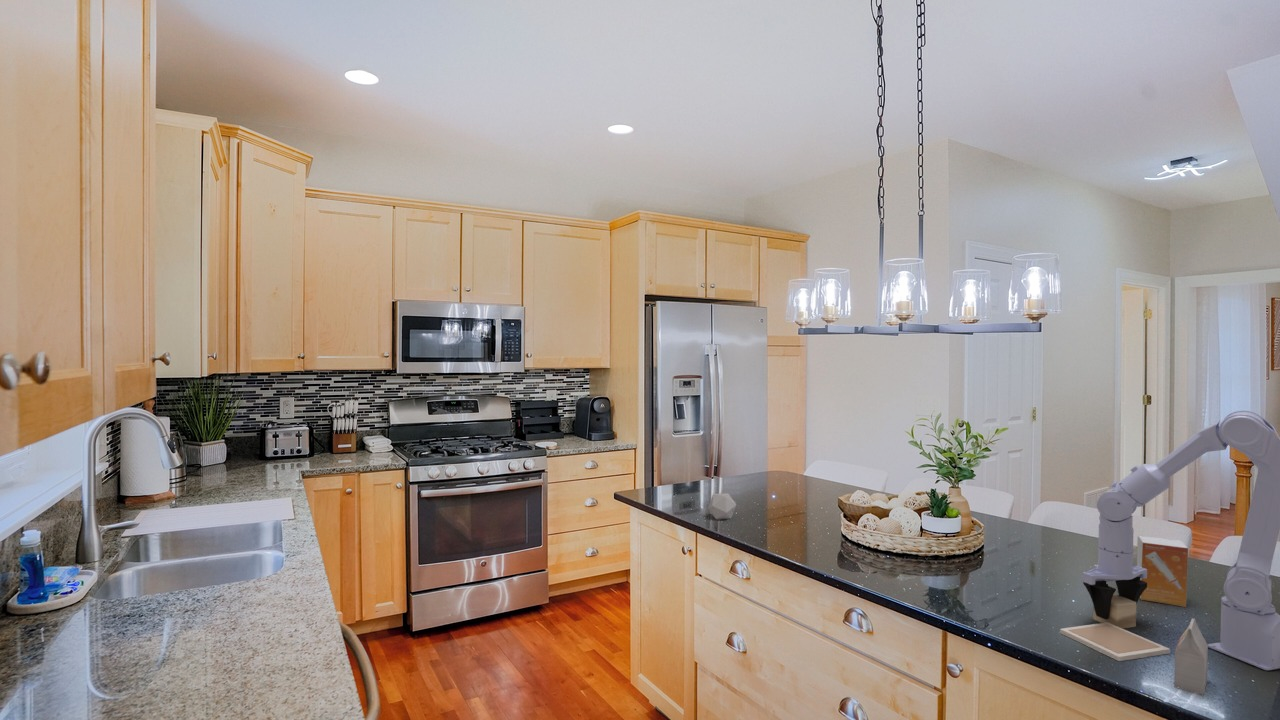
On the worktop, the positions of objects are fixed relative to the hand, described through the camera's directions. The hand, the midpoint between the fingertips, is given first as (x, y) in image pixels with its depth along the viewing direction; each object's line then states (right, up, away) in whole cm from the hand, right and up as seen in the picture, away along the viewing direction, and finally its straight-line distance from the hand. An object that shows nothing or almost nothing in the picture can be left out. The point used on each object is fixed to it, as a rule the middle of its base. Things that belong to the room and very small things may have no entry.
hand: (1114, 615), depth 133 cm
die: (-70, 0, +81) cm, 106 cm away
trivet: (-7, -2, -9) cm, 11 cm away
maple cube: (0, -2, 0) cm, 2 cm away
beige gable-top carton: (-5, -2, -24) cm, 24 cm away
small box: (+19, -2, +13) cm, 23 cm away
